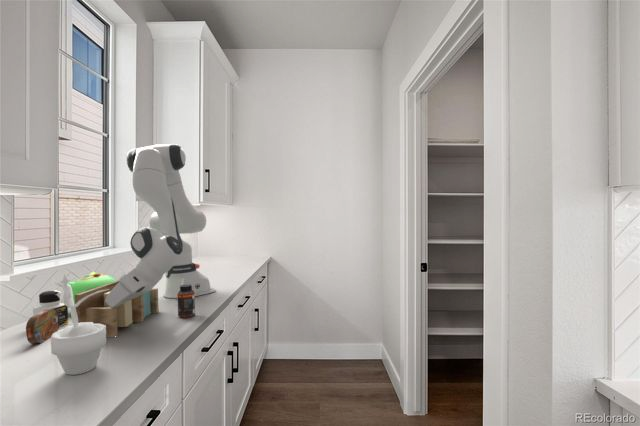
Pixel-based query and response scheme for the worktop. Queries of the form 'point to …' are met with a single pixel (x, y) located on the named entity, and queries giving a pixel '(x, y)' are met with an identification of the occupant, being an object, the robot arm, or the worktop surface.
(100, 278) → the toy bird
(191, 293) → the supplement bottle
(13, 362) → the worktop surface
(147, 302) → the teal tall rectangular block
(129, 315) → the book box
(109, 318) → the pantry shelf
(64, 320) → the medicine bottle
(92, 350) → the potted plant
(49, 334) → the tin
